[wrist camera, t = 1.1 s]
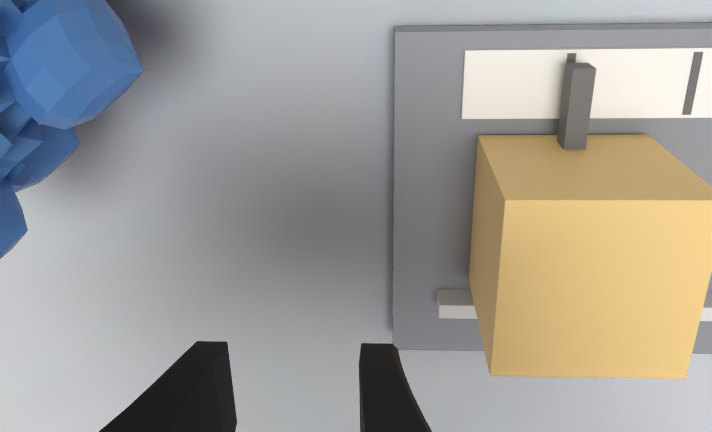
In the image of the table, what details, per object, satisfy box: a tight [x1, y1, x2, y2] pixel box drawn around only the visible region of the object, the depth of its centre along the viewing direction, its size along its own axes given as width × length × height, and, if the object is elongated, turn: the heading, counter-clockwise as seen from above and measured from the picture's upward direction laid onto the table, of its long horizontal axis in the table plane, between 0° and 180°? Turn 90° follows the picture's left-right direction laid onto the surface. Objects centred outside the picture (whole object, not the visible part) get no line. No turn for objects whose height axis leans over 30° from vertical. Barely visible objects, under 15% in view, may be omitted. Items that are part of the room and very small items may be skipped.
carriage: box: [469, 63, 712, 379], centre depth 18 cm, size 7×5×5 cm
